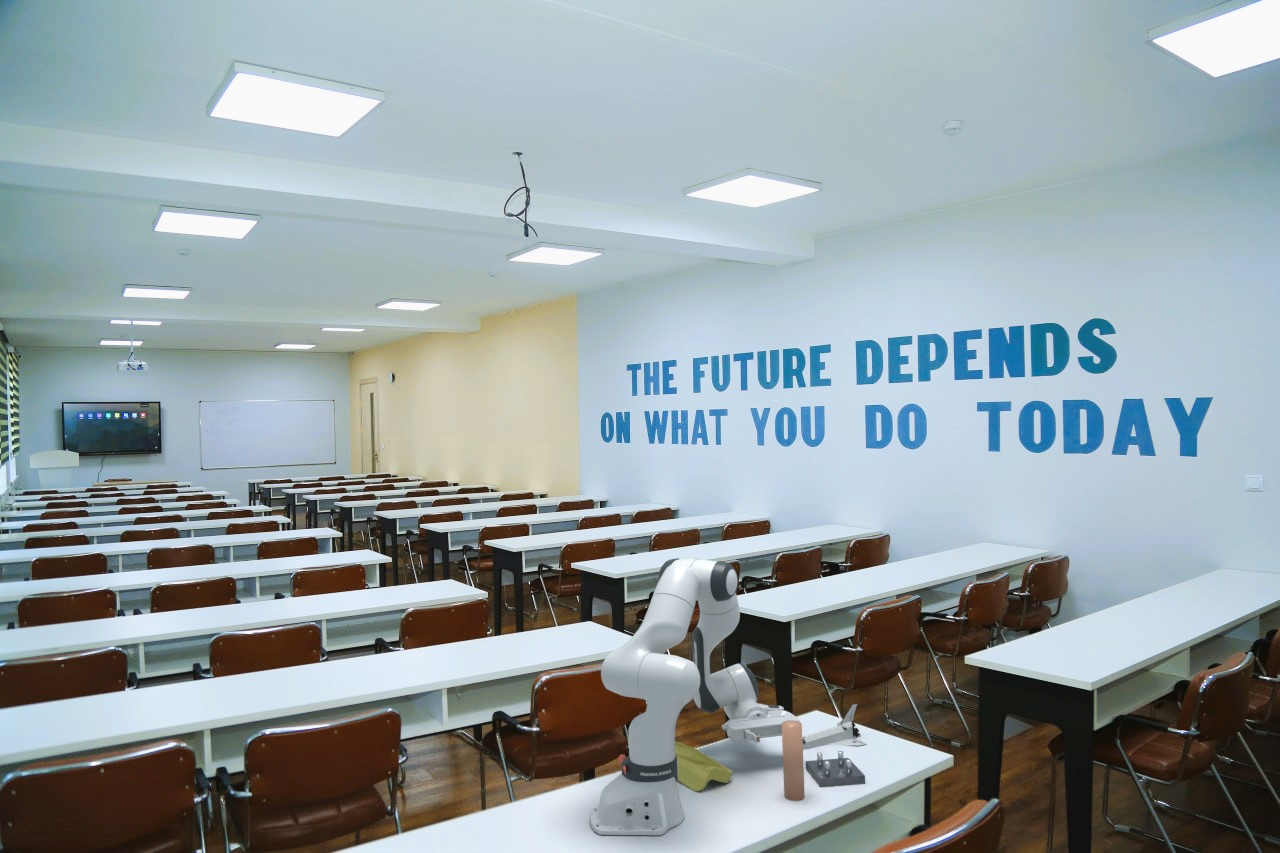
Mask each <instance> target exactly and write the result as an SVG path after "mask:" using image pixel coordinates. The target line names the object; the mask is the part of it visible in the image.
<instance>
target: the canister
mask: <svg viewBox="0 0 1280 853" xmlns="http://www.w3.org/2000/svg"><path fill="white" fill-rule="evenodd" d="M799 721H800V720H799ZM799 721H794V720H788V721H784V722H782V736H781V739H782V740H781V742H782V765H783V766H782V768H783V769H782V770H783V771H782V772H783V794H784V795H783V796H784V798H785V799H786V800H789V801H793V802H794V801H796V802H799V801H802V800H804V799H805V798H806V796H805V794H806V792H805V773H804V772H805V771H804V770H805V769H804V768H805V767H804V750H803V741H802V737H803V723H802V722H801V721H800V722H799Z"/></svg>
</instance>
